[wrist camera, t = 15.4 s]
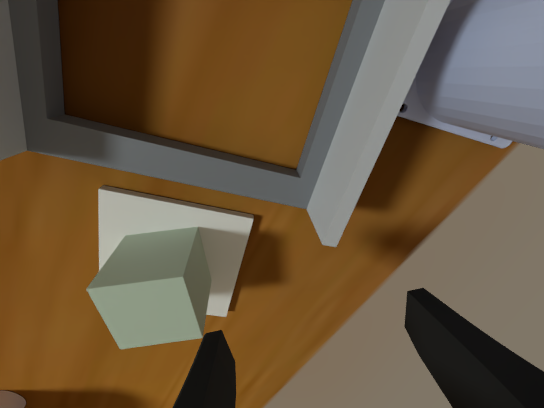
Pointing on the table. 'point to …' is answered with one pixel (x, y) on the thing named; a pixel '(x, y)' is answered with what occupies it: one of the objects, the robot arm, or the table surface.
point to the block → (154, 288)
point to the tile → (176, 215)
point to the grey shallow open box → (217, 165)
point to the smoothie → (11, 400)
